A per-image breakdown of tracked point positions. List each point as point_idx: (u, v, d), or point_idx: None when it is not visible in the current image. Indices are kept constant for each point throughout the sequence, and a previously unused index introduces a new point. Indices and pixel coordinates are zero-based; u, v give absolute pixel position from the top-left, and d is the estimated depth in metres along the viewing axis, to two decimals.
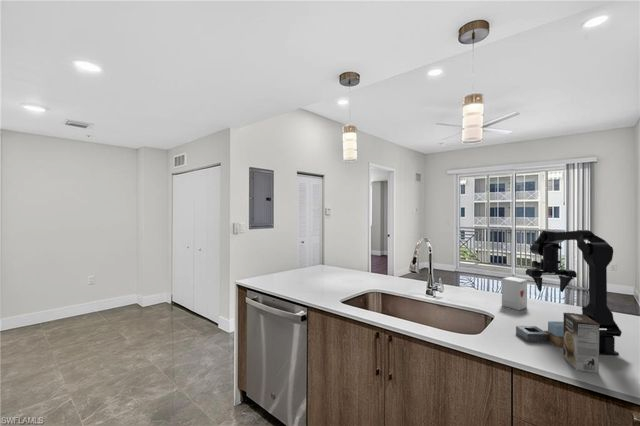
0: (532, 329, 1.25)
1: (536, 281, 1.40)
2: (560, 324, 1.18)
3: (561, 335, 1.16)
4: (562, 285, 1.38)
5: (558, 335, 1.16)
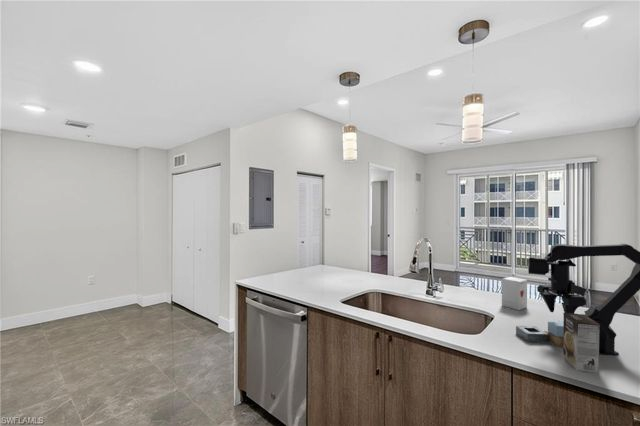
0: (532, 329, 1.25)
1: None
2: (560, 324, 1.18)
3: (561, 335, 1.16)
4: None
5: (558, 335, 1.16)
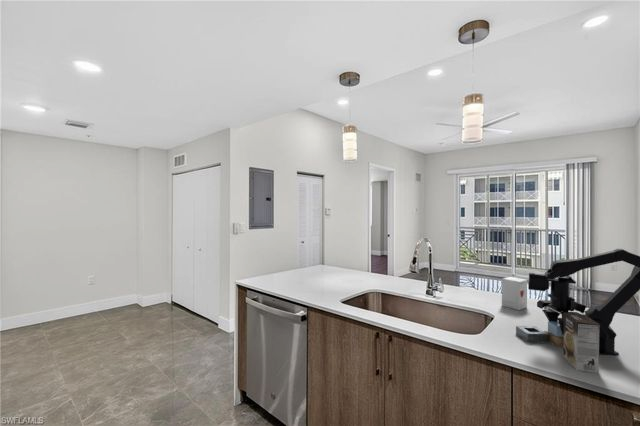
0: (532, 329, 1.25)
1: None
2: None
3: (561, 335, 1.16)
4: None
5: (558, 335, 1.16)
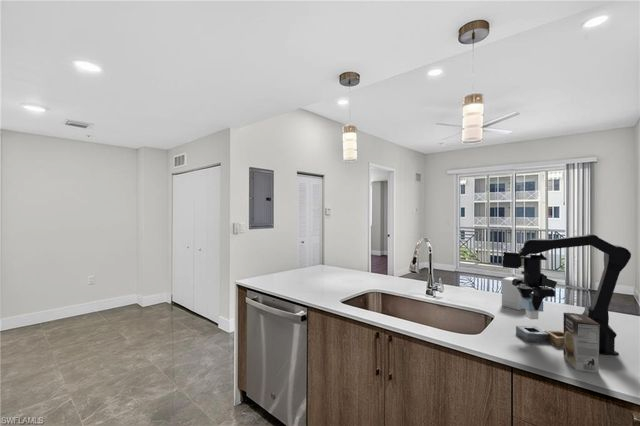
0: (532, 329, 1.25)
1: None
2: None
3: (533, 310, 1.21)
4: None
5: (530, 310, 1.21)
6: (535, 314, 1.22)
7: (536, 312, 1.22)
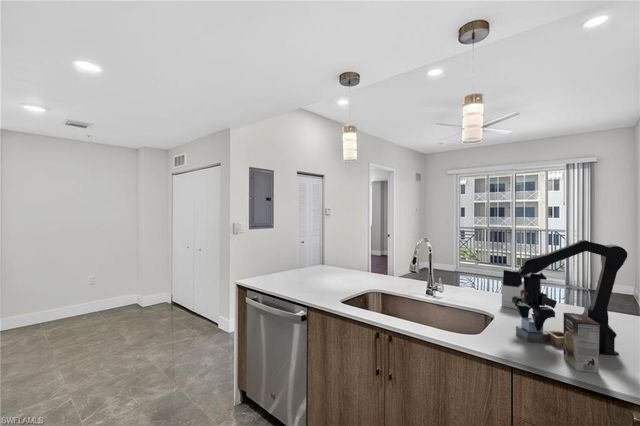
0: None
1: None
2: None
3: (533, 331, 1.21)
4: None
5: (530, 330, 1.21)
6: None
7: None
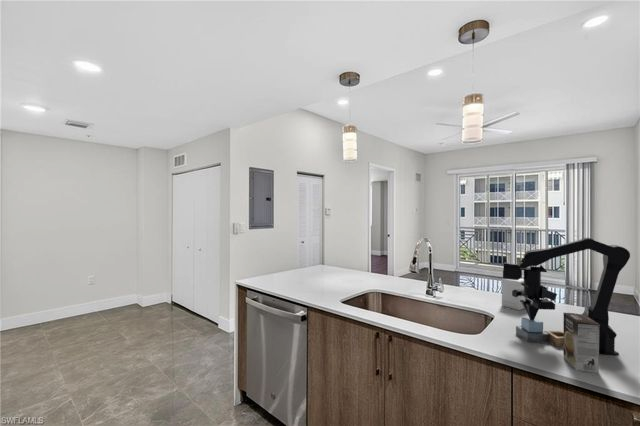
0: None
1: None
2: (533, 320, 1.22)
3: (533, 331, 1.21)
4: None
5: (530, 330, 1.21)
6: None
7: None
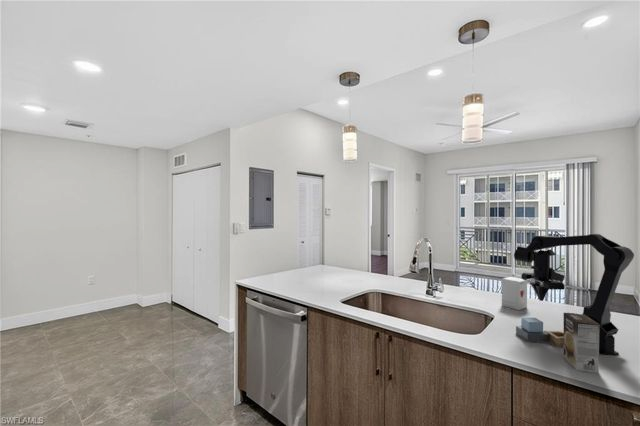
0: None
1: None
2: (533, 320, 1.22)
3: (533, 331, 1.21)
4: None
5: (530, 330, 1.21)
6: None
7: None
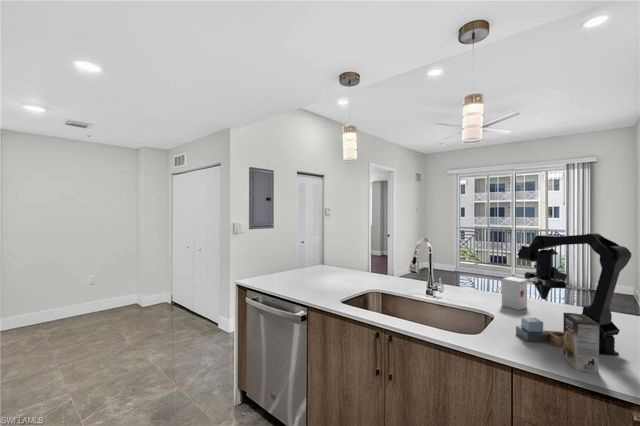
0: None
1: None
2: (533, 320, 1.22)
3: (533, 331, 1.21)
4: None
5: (530, 330, 1.21)
6: None
7: None
